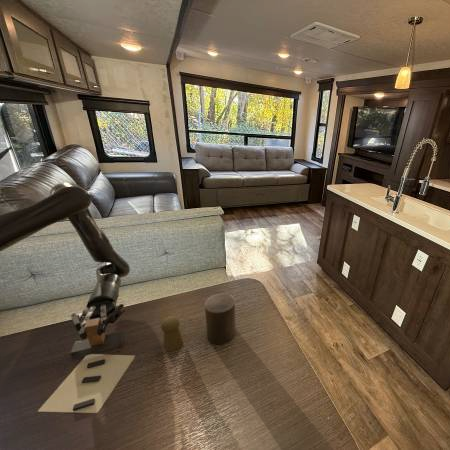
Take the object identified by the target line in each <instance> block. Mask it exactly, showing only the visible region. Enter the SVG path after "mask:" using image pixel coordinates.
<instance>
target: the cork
mask: <svg viewBox="0 0 450 450" xmlns="http://www.w3.org/2000/svg"><path fill="white" fill-rule="evenodd" d="M179 327H180V319H179V318H178V317H177V316H175V315H170V316H167V317H165V318H164V319H163V320H162V321H161V324H160V328H161V331H162V332H163V342H162V345H163V346H162V347H163V349H164V350H165V351H168V352H173V351H175V350H177V353H178V352H179V351H181V350H182V348H183V347H184V344H185V342H184V339H183V335H182V333H181V330H180V328H179Z"/></svg>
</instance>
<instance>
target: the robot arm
mask: <svg viewBox="0 0 450 450" xmlns="http://www.w3.org/2000/svg"><path fill="white" fill-rule="evenodd" d="M92 200H93V198H92V195H91V193H90V192H89V191H88V190H87V189H85V188H83V187H82V186H80V185H78V184H75V183H72V182H58V183H57V184H55V185H53V186H52V187H51V188H50V191H49V196H47V197H45V198H44V199H41V200H39V201H37V202H36V203H33V204H30V205H28V206H25V207H23V208H19V209H14V210H11V211H7V212H2V213H0V252H3V251H4V250H6V249H8V248H10V247H12V246H14V245H16V244H18V243H19V242H21V241H23V240H26V239H27V238H29V237H31V236H33V235H35V234H36V233H38V232H40V231H42V230H44V229H45V228H47V227H49V226H52V225H54V224H56V223H59V222H61V221H63V220H66V219H67V220H68V221H69V222H70V223H71V225H72V226H73V229H74V230H75V232H76V233H77V235H78V237H79V238H80V240H81V242H82V243H83V245H84V247H85V249H86V251H87V252H88V254H89V255H90V257H91V258H92V261H94V262H95V263H104V264H101V265H99V266H98V267H97V268H96V269H95V275H96V284H95V286H94V288H93V289H92V291H91V294H90V296H89V299H88V301H87V303H86V306H85V308H84V309H83V310H82V312H80V313H79V312H78V314H77V313H76V312H74V313H71V315H70V318H71V320H72V323H73V325H74V327H75V329H76V331H77V332H78V335H79V338H80V339H81V341H82V340H86V339H87V338H88V337H87V334H86V331H85V328H84V327H85V324H86V322H87V320H91V319H96V318H100V320H101V322H100V323H99V326H98V329H97V333H98V336H100V335H102V333H105V332H106V330H107V326H108V325H109V324H115V323H116V322H117V321H118V320H119V318H120V317H121V316H122V315H123V314H124V312H125V310H126V309H125V306H124V305H125V304H123V303H120V304H118V305H117V302H118V298H119V296H120V288H121V284H122V279H121V278H125V277H127V276H128V275H130V273H131V267H130V264H129V263H128V262H127V261H126V260H125V258H123V257H122V256H121V255H120V254H119V253H118V252H117V251H116V250H115V248H114V246H113V245H112V243H111V242H110V240H109V238H108V236H107V235H106V234H105V232H104V231H103V229H102V228H101V227H100V225H99V224H98V223H97V221H96V219H95V218H94V216H93V215H92V213H91V211H90V209H89V208H90V206H91V204H92ZM83 317H84V320H83V321H82V318H83Z"/></svg>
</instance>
